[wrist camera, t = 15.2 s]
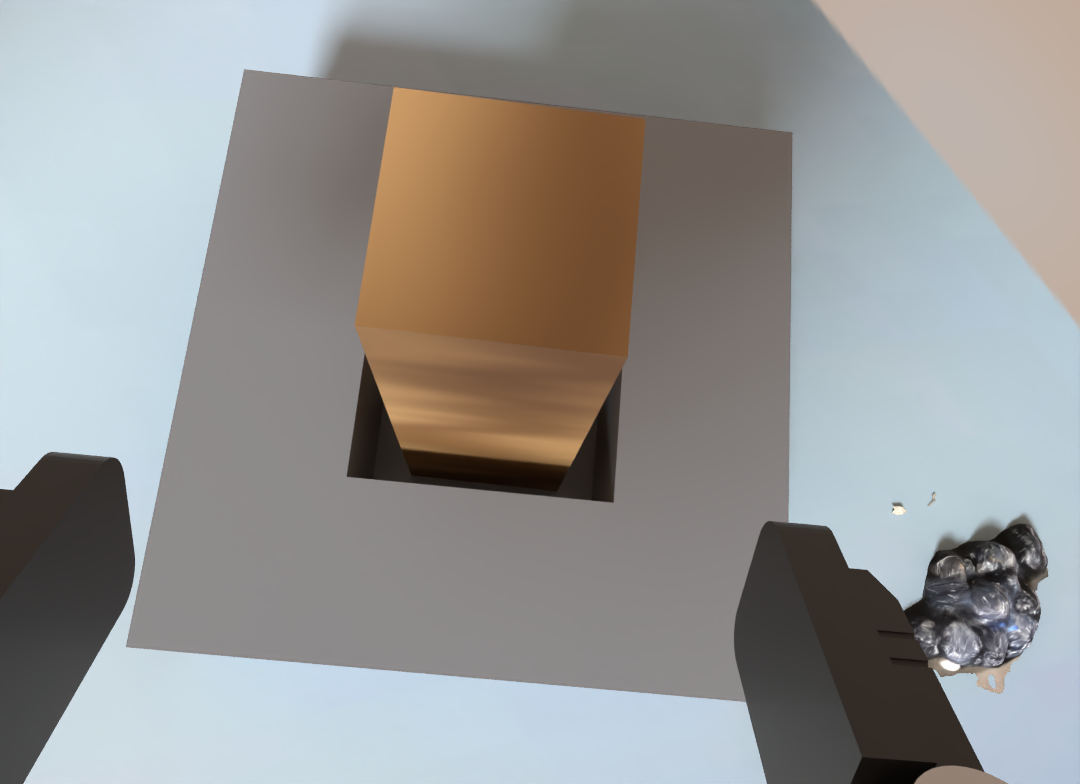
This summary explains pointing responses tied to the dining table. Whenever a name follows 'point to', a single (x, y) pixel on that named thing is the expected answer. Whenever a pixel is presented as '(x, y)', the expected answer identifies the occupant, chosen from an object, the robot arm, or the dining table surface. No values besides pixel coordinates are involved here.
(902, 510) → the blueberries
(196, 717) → the dining table surface
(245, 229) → the socket block
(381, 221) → the wooden peg
